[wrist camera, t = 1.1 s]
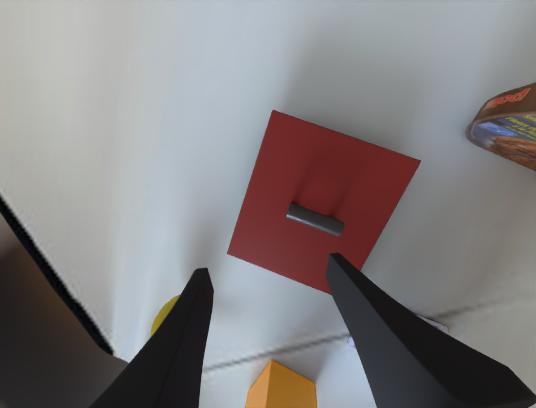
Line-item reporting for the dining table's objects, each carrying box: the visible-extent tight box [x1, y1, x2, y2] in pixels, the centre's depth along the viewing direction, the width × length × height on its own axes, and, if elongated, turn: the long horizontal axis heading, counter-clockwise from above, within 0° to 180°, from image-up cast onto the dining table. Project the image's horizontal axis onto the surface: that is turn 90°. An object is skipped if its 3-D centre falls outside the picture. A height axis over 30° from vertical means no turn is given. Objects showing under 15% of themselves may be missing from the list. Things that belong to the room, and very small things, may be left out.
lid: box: [227, 110, 421, 295], centre depth 18 cm, size 15×14×4 cm
